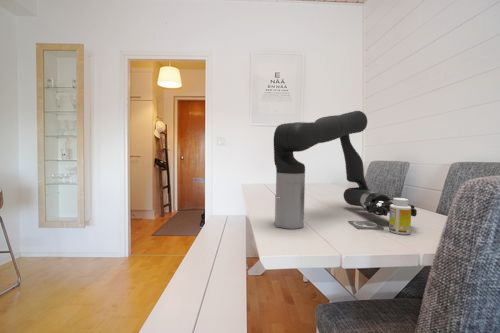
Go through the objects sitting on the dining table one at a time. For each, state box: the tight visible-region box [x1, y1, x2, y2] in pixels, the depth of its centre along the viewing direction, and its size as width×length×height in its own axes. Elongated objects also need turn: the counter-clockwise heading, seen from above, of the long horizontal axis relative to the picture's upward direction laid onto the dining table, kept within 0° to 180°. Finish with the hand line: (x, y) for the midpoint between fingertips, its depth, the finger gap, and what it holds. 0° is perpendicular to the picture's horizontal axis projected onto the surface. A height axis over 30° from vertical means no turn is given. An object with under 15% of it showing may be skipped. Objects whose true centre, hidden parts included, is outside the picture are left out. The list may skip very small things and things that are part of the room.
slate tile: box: [347, 220, 384, 231], centre depth 83 cm, size 8×8×1 cm
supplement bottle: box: [388, 197, 412, 235], centre depth 76 cm, size 6×6×10 cm
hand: (400, 212), depth 76 cm, fingers open, 8 cm apart
